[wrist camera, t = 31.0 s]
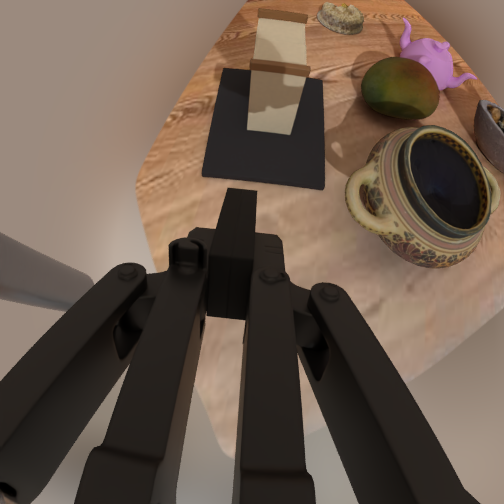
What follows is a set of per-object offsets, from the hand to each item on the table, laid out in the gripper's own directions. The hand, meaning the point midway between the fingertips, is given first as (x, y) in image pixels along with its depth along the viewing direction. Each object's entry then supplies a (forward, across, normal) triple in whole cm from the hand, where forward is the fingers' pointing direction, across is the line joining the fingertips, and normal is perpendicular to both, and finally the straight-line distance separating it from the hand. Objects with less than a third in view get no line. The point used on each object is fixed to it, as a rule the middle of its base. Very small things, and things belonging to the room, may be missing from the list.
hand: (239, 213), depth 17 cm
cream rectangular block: (+32, +2, +2) cm, 32 cm away
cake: (+55, +15, +23) cm, 61 cm away
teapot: (+47, +32, +15) cm, 59 cm away
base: (+32, +2, +1) cm, 32 cm away
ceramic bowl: (+24, +22, -8) cm, 33 cm away
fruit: (+38, +22, +6) cm, 44 cm away
